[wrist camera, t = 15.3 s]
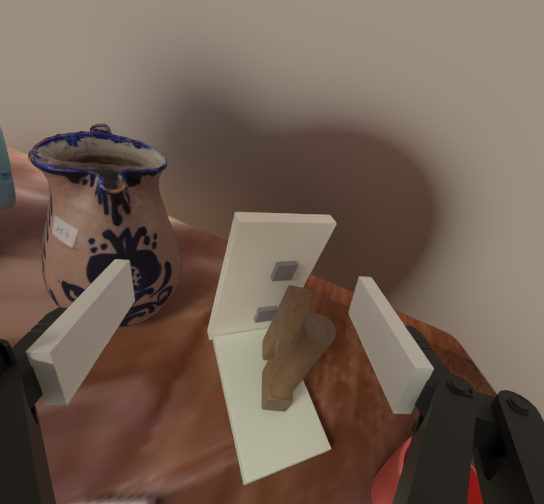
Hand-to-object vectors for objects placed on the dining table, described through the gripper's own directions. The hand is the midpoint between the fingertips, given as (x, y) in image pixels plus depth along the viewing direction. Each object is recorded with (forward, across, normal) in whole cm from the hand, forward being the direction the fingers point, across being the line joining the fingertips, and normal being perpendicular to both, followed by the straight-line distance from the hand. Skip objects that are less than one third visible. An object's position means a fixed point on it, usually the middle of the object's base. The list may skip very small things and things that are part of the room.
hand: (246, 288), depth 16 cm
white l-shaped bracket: (+16, +4, -27) cm, 32 cm away
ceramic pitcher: (+27, -21, -20) cm, 40 cm away
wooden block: (+16, +5, -26) cm, 31 cm away
